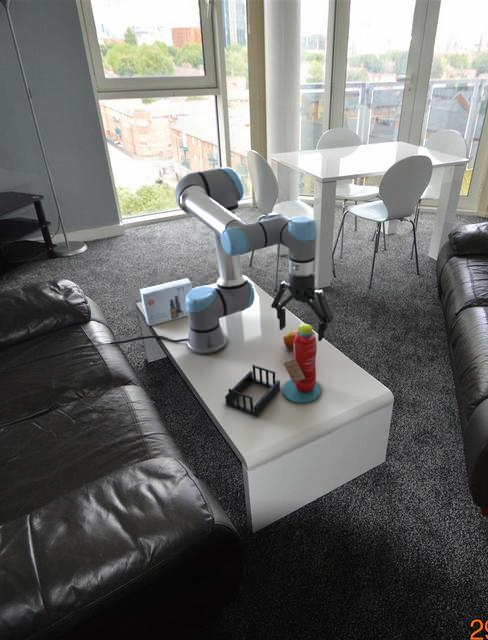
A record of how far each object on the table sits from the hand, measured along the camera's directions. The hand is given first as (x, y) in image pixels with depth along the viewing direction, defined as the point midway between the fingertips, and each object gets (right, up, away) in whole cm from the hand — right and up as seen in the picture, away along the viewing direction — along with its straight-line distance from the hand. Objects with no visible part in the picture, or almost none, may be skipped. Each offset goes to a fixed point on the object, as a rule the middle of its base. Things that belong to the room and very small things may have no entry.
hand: (301, 333), depth 139 cm
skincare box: (-56, +8, +56) cm, 79 cm away
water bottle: (+1, -19, +13) cm, 23 cm away
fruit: (-2, -5, +35) cm, 36 cm away
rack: (-16, -22, +11) cm, 29 cm away
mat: (+1, -20, +13) cm, 24 cm away
